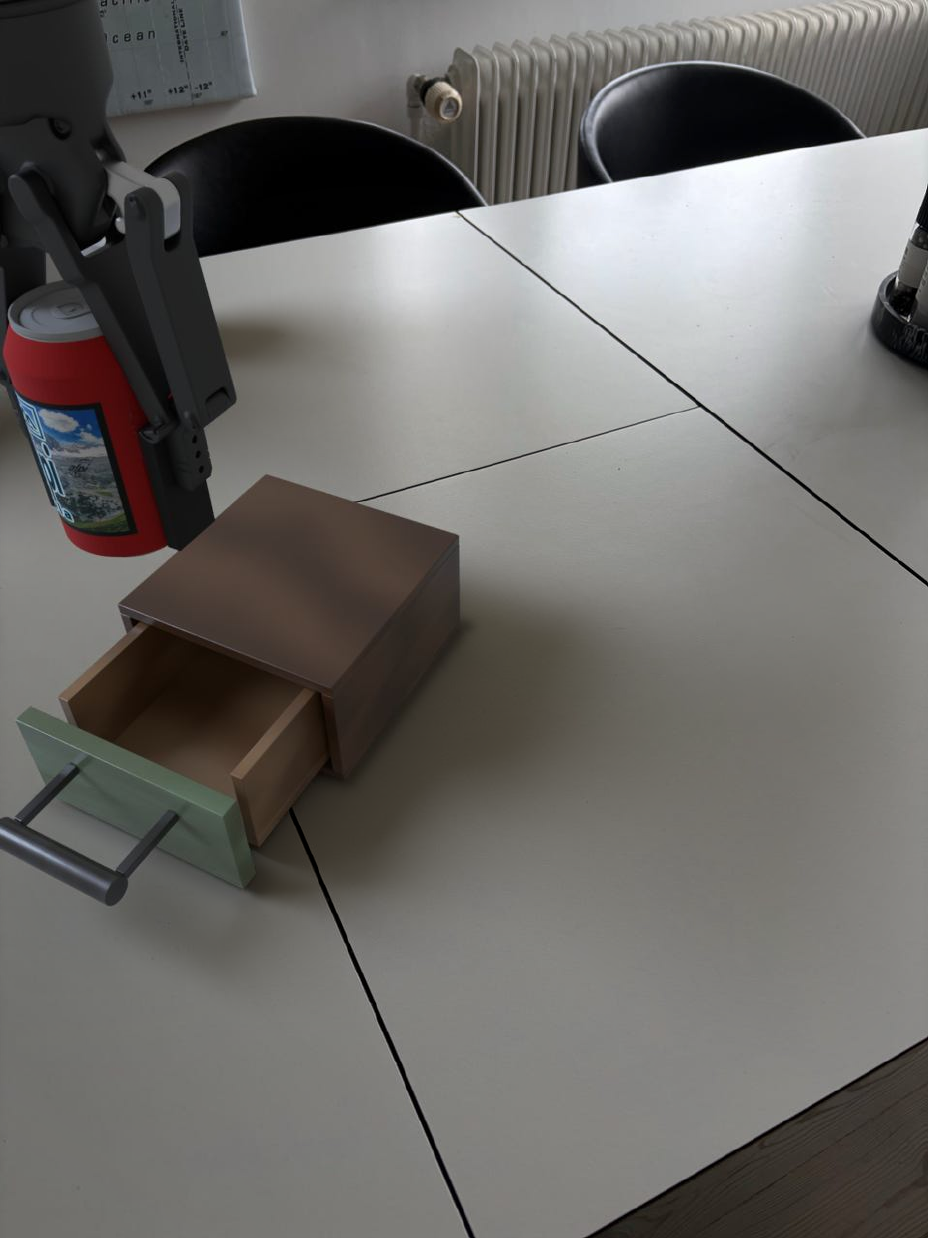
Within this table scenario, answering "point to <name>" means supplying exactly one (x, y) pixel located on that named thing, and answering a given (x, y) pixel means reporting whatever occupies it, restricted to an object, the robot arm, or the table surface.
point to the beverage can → (82, 423)
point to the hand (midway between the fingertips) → (132, 512)
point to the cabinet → (314, 601)
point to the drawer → (169, 759)
